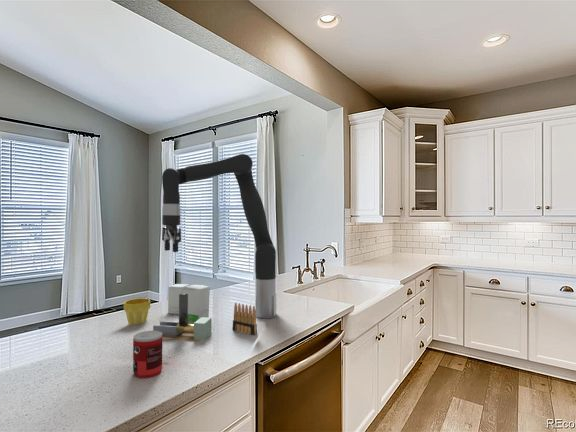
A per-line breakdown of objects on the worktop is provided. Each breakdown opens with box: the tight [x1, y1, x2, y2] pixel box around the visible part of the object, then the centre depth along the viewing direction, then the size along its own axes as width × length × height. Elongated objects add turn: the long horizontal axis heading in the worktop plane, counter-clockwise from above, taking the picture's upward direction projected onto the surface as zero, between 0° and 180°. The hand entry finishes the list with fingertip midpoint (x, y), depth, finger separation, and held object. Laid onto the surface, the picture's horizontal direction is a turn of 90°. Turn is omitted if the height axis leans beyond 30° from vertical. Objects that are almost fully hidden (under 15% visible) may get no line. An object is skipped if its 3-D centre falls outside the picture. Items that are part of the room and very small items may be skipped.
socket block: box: [193, 317, 212, 341], centre depth 125 cm, size 4×7×6 cm, turn 173°
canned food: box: [132, 330, 163, 379], centre depth 99 cm, size 8×8×11 cm
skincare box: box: [186, 283, 211, 323], centre depth 145 cm, size 8×7×16 cm
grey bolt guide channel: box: [152, 320, 182, 338], centre depth 126 cm, size 9×5×4 cm, turn 82°
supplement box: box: [167, 283, 190, 315], centre depth 161 cm, size 7×7×13 cm
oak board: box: [162, 331, 213, 343], centre depth 126 cm, size 20×10×1 cm, turn 83°
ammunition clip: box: [232, 302, 258, 336], centre depth 130 cm, size 11×2×12 cm, turn 59°
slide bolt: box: [177, 293, 194, 334], centre depth 125 cm, size 11×3×14 cm, turn 82°
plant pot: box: [123, 297, 151, 326], centre depth 142 cm, size 10×10×10 cm
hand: (171, 251), depth 148 cm, fingers open, 8 cm apart
